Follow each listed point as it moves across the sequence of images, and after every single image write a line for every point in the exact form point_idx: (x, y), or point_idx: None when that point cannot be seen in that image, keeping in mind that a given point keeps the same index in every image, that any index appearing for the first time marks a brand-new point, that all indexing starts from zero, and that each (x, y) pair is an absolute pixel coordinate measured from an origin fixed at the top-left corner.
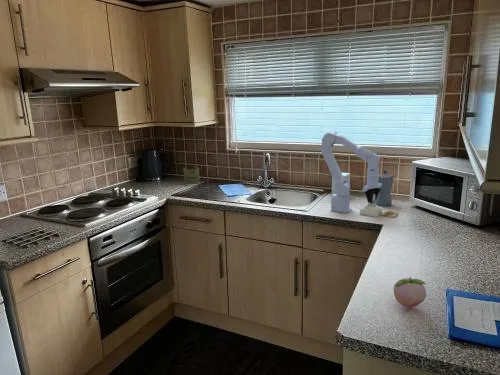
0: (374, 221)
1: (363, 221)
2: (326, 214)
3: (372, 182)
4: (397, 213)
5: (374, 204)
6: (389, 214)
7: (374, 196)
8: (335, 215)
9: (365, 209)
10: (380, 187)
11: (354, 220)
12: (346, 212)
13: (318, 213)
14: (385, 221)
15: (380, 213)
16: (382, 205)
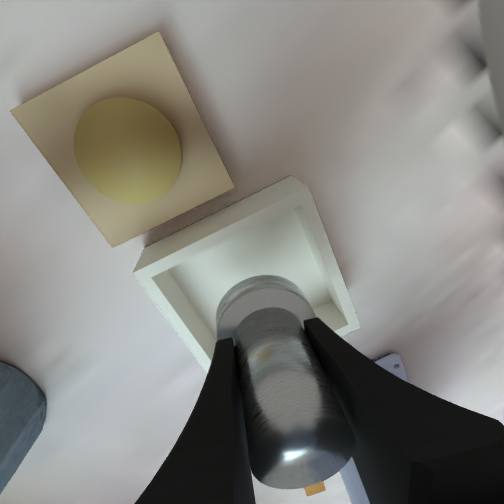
0: (411, 85)
1: (473, 146)
2: (489, 381)
3: None
4: (36, 97)
5: (279, 288)
6: (165, 116)
7: (295, 382)
8: (474, 348)
9: (339, 294)
10: None
11: (493, 207)
12: (397, 356)
13: (500, 408)
14: (333, 8)
15: (191, 226)
16: (15, 377)
